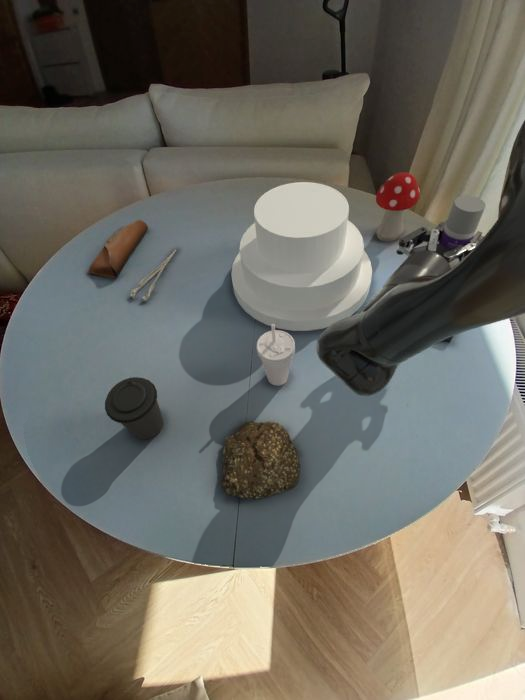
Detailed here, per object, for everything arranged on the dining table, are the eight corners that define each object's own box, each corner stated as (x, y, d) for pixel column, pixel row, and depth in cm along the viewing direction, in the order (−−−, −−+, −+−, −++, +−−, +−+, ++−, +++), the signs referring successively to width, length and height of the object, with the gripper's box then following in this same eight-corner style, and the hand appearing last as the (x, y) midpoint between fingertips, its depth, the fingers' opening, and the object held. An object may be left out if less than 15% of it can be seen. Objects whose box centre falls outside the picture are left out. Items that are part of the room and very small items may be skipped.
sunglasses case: (119, 226, 102) (123, 208, 97) (144, 240, 104) (150, 222, 99) (85, 273, 92) (88, 255, 87) (114, 287, 94) (119, 270, 89)
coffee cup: (157, 396, 71) (139, 364, 63) (180, 427, 67) (164, 398, 59) (116, 422, 68) (92, 393, 60) (138, 457, 64) (115, 430, 56)
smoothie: (285, 357, 74) (283, 306, 63) (301, 383, 71) (303, 333, 60) (254, 371, 73) (247, 321, 62) (269, 397, 69) (264, 350, 58)
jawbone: (148, 302, 86) (145, 295, 84) (130, 298, 87) (127, 291, 85) (185, 256, 96) (184, 249, 95) (169, 253, 97) (167, 246, 96)
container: (432, 287, 70) (460, 213, 59) (423, 270, 73) (448, 196, 61) (458, 284, 70) (491, 210, 59) (448, 267, 73) (478, 193, 61)
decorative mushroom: (386, 252, 91) (400, 192, 79) (360, 233, 95) (370, 174, 83) (417, 235, 93) (435, 175, 81) (391, 218, 98) (404, 158, 86)
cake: (324, 222, 99) (328, 151, 85) (399, 297, 82) (420, 224, 68) (213, 262, 92) (198, 192, 78) (269, 352, 75) (263, 284, 61)
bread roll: (304, 496, 59) (304, 485, 55) (221, 504, 59) (216, 494, 55) (293, 419, 67) (293, 404, 63) (220, 426, 67) (215, 412, 63)
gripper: (470, 288, 53) (516, 226, 60) (376, 249, 59) (428, 196, 67) (452, 325, 59) (496, 264, 66) (368, 285, 65) (417, 234, 72)
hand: (462, 230), depth 66 cm, fingers closed on container, 4 cm apart
